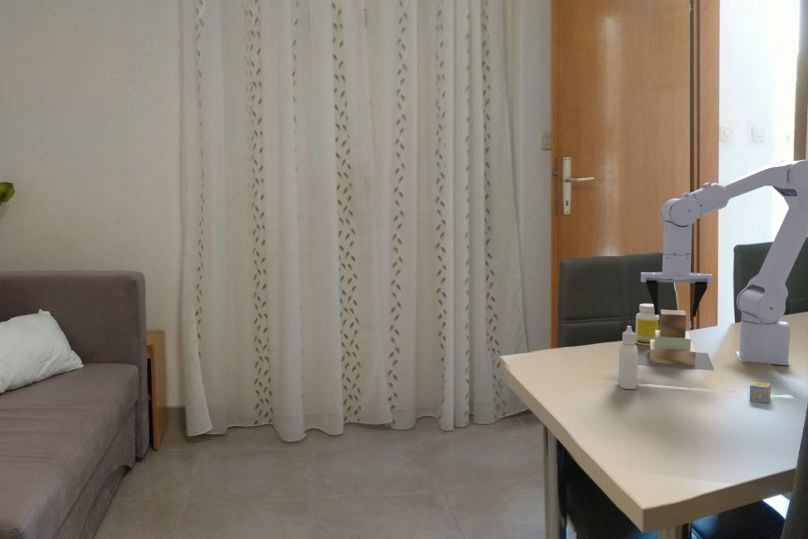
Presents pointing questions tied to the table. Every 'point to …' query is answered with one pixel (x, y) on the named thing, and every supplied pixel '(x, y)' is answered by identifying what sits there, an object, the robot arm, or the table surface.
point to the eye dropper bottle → (628, 360)
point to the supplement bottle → (646, 324)
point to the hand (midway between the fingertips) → (674, 314)
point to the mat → (700, 363)
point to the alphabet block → (760, 392)
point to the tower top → (672, 342)
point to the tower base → (672, 355)
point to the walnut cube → (672, 323)
